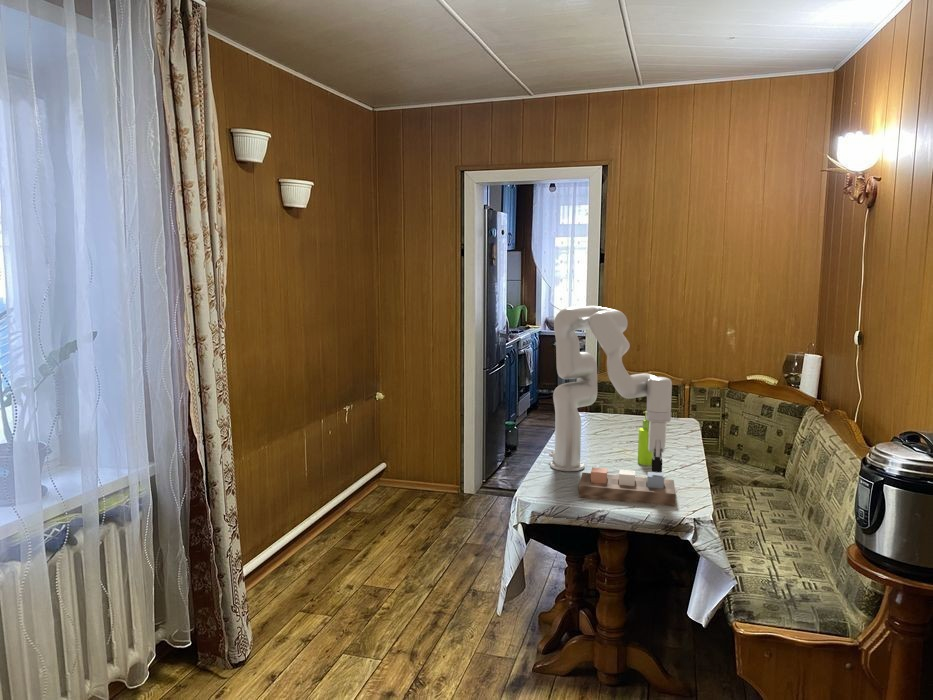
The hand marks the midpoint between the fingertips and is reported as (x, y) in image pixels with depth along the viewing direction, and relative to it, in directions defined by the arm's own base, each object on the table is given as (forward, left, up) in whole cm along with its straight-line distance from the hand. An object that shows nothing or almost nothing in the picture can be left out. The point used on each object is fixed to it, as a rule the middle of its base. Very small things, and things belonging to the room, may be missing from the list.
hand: (656, 471), depth 215 cm
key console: (-7, -6, -9) cm, 13 cm away
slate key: (0, 0, -5) cm, 5 cm away
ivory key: (-7, -6, -5) cm, 11 cm away
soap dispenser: (-26, +27, -9) cm, 39 cm away
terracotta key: (-14, -12, -5) cm, 19 cm away
